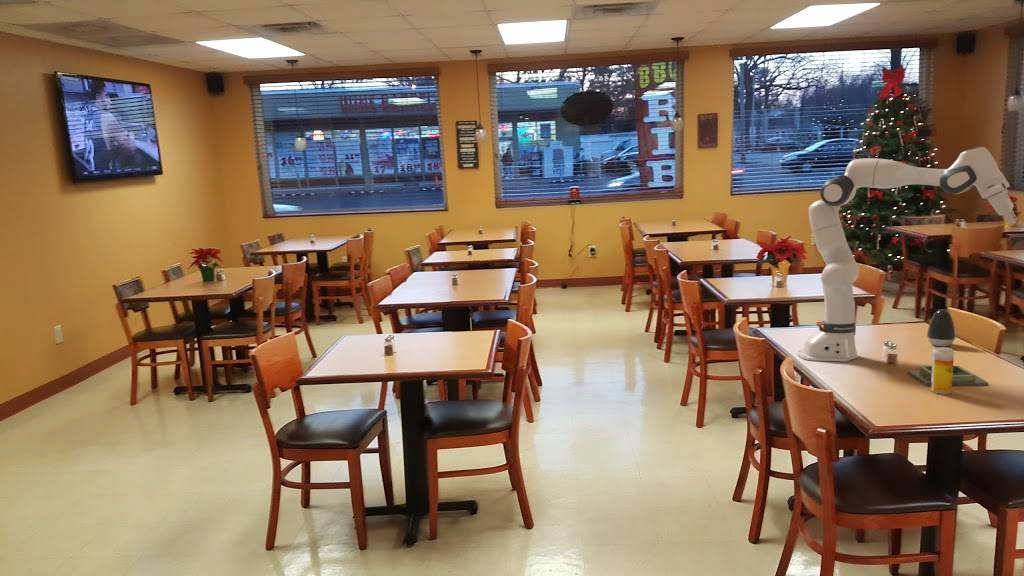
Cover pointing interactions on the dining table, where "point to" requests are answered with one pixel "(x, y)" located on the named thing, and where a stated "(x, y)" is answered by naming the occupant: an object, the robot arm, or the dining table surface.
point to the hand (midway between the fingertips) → (1014, 223)
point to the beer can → (942, 370)
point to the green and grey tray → (958, 379)
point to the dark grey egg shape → (941, 329)
